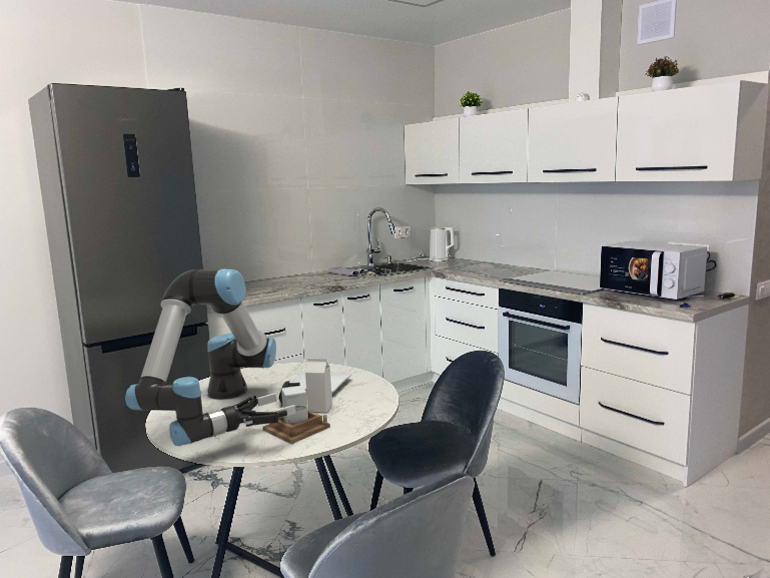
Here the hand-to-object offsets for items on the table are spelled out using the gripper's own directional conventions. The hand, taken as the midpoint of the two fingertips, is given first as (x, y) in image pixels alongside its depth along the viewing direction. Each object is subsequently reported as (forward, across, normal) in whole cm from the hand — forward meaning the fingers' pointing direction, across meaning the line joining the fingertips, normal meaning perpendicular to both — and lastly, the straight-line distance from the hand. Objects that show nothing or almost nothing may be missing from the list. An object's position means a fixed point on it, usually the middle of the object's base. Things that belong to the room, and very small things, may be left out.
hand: (285, 402), depth 191 cm
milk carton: (+18, -10, -10) cm, 23 cm away
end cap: (+13, -23, -10) cm, 28 cm away
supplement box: (+3, 0, -9) cm, 10 cm away
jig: (+4, 0, -10) cm, 11 cm away
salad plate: (+29, -30, -11) cm, 43 cm away
